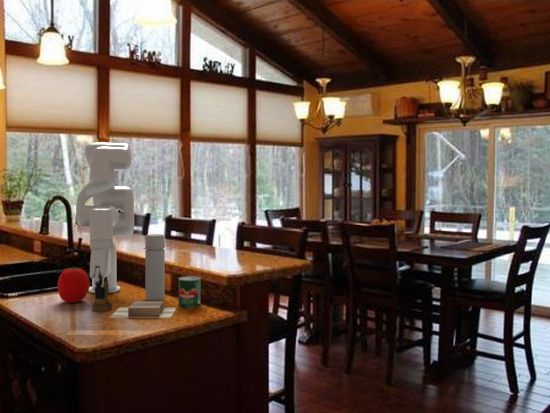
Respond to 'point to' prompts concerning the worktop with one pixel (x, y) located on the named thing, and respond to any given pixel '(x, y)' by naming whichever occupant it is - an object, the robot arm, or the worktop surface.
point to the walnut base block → (146, 309)
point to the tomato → (73, 285)
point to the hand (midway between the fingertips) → (101, 296)
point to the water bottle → (155, 267)
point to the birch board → (123, 313)
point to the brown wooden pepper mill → (102, 301)
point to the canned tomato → (189, 291)
